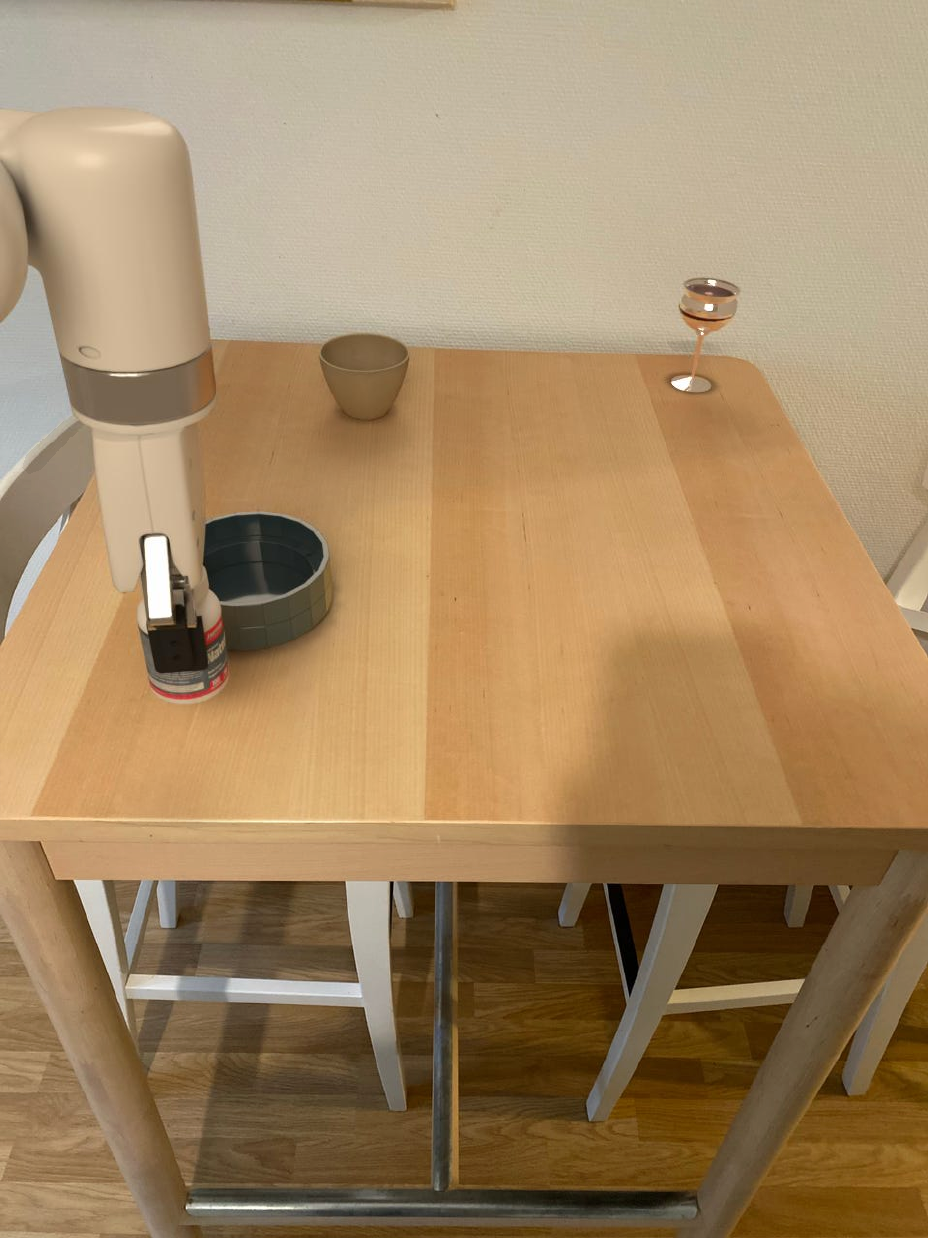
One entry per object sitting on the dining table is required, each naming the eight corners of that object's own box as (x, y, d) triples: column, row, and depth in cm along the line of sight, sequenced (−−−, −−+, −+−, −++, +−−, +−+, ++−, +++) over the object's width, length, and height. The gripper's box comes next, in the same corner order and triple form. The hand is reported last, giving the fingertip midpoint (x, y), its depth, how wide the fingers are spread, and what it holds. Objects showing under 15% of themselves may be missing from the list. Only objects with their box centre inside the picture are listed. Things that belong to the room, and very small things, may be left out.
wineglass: (726, 394, 111) (750, 297, 103) (673, 396, 110) (693, 298, 102) (707, 371, 116) (728, 276, 108) (656, 372, 115) (674, 277, 108)
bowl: (169, 662, 70) (158, 612, 67) (178, 564, 80) (168, 516, 77) (337, 647, 72) (334, 598, 69) (326, 553, 82) (323, 506, 79)
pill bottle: (224, 707, 60) (210, 601, 54) (143, 707, 59) (120, 600, 54) (234, 654, 64) (221, 550, 58) (158, 654, 63) (138, 549, 58)
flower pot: (303, 411, 103) (299, 351, 98) (362, 383, 109) (360, 325, 105) (369, 440, 99) (368, 378, 94) (427, 408, 105) (428, 349, 100)
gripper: (87, 316, 54) (136, 564, 65) (38, 459, 41) (110, 738, 52) (217, 315, 55) (243, 559, 66) (210, 454, 42) (243, 726, 54)
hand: (184, 635), depth 59 cm, fingers closed on pill bottle, 5 cm apart
